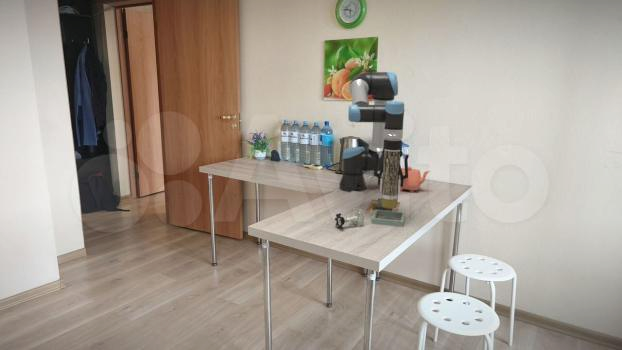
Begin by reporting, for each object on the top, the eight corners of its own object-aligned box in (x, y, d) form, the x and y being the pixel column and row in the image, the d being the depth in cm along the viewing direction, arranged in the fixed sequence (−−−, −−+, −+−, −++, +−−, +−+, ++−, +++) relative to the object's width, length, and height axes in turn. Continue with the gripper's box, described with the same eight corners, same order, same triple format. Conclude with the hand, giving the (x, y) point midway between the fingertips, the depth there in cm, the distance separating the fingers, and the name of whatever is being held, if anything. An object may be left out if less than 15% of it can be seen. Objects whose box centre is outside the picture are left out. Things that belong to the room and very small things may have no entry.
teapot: (388, 187, 231) (389, 165, 228) (411, 185, 236) (412, 163, 233) (405, 195, 215) (406, 171, 212) (429, 192, 221) (431, 169, 218)
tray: (371, 225, 169) (371, 218, 168) (375, 215, 181) (375, 209, 180) (402, 228, 165) (403, 221, 165) (404, 218, 178) (404, 212, 177)
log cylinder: (398, 205, 174) (401, 148, 168) (396, 209, 167) (399, 150, 162) (382, 203, 176) (385, 147, 170) (379, 208, 169) (383, 149, 164)
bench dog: (376, 212, 183) (377, 200, 181) (377, 210, 185) (378, 198, 184) (385, 213, 182) (386, 201, 180) (386, 211, 184) (387, 199, 183)
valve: (359, 222, 172) (334, 226, 167) (359, 208, 171) (334, 211, 166) (367, 227, 166) (342, 231, 162) (368, 212, 165) (342, 216, 160)
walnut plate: (372, 209, 187) (372, 203, 187) (374, 205, 194) (374, 199, 193) (391, 211, 185) (392, 205, 184) (392, 207, 191) (393, 201, 191)
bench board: (365, 214, 183) (365, 212, 183) (371, 201, 203) (371, 199, 203) (396, 217, 179) (396, 215, 179) (400, 203, 200) (400, 202, 199)
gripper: (367, 139, 164) (365, 193, 169) (417, 141, 159) (413, 197, 164) (370, 137, 171) (368, 189, 176) (417, 139, 166) (414, 192, 171)
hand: (389, 193), depth 170 cm, fingers closed on log cylinder, 7 cm apart
